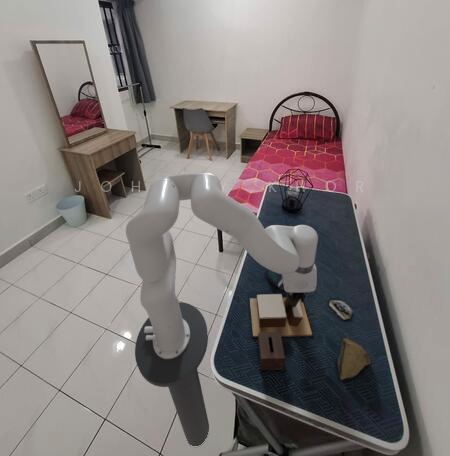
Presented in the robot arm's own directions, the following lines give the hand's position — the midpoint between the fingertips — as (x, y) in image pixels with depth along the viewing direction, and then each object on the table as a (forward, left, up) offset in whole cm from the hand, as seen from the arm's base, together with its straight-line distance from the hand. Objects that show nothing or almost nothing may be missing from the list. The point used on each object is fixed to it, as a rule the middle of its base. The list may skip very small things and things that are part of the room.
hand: (296, 298), depth 82 cm
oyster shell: (+17, +2, -11) cm, 21 cm away
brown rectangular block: (-1, 0, -9) cm, 9 cm away
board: (-6, 0, -11) cm, 12 cm away
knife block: (-11, -12, -11) cm, 19 cm away
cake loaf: (-9, 0, -10) cm, 13 cm away
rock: (+14, -15, -11) cm, 23 cm away
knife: (-3, 0, -10) cm, 10 cm away
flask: (-5, +14, -11) cm, 18 cm away
